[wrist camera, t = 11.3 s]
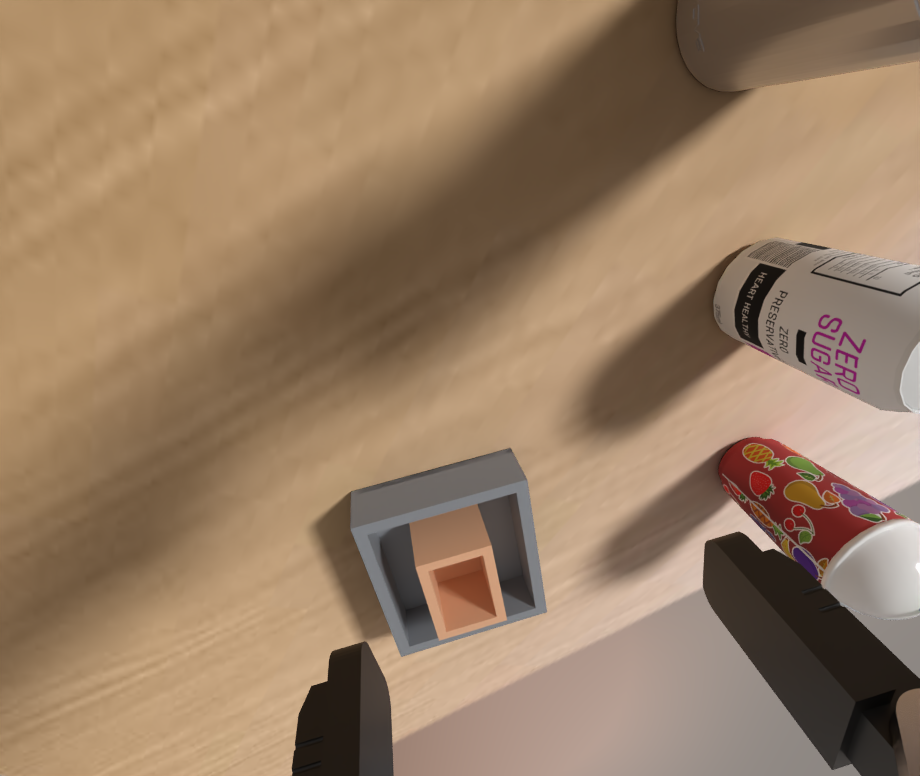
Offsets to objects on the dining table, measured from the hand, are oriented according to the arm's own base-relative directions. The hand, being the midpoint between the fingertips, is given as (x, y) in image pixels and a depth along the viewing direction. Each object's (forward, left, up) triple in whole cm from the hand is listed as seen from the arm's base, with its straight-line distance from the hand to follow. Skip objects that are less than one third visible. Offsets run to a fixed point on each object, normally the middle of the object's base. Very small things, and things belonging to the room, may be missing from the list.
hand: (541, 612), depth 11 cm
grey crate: (+2, +23, -26) cm, 34 cm away
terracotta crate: (+2, +22, -25) cm, 34 cm away
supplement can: (-27, +6, -26) cm, 38 cm away
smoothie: (-28, +24, -26) cm, 45 cm away
